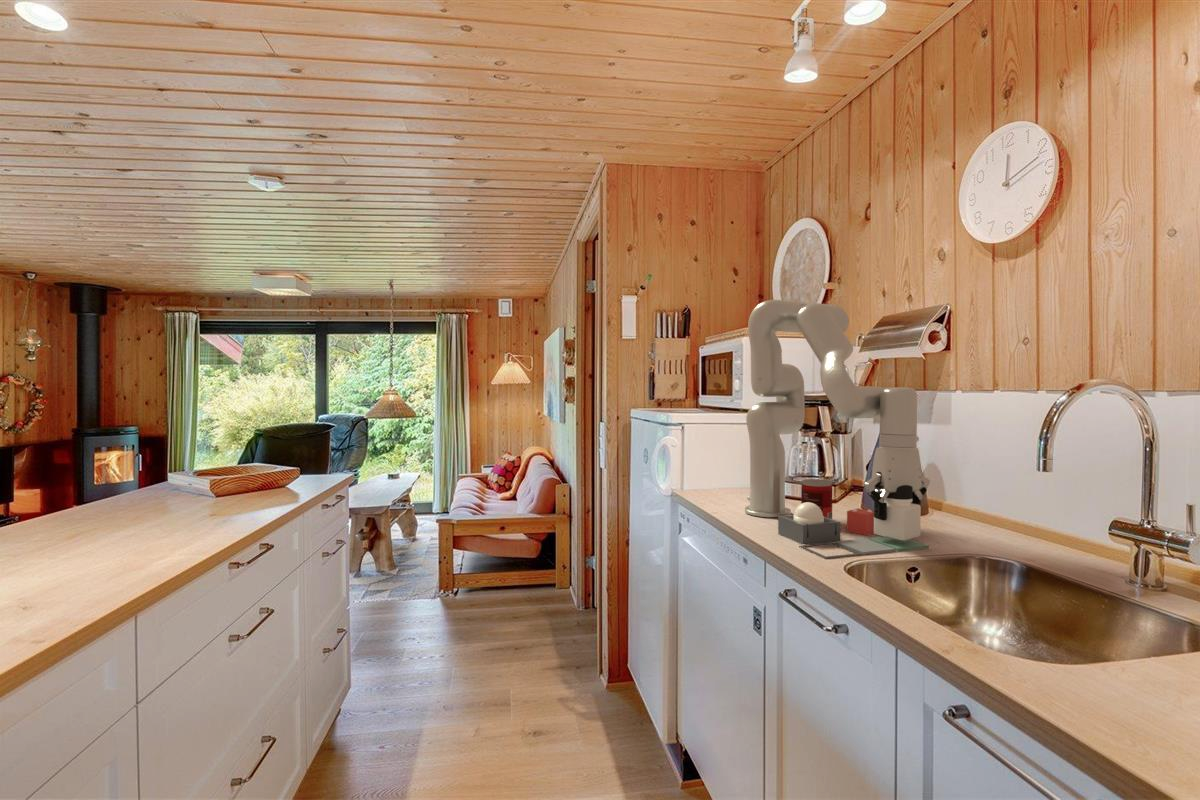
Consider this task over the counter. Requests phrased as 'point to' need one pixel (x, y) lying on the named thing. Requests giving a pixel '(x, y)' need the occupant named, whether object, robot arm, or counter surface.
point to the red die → (860, 521)
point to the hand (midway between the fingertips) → (897, 517)
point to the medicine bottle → (900, 516)
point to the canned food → (818, 494)
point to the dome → (808, 513)
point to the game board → (870, 546)
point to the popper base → (809, 530)
